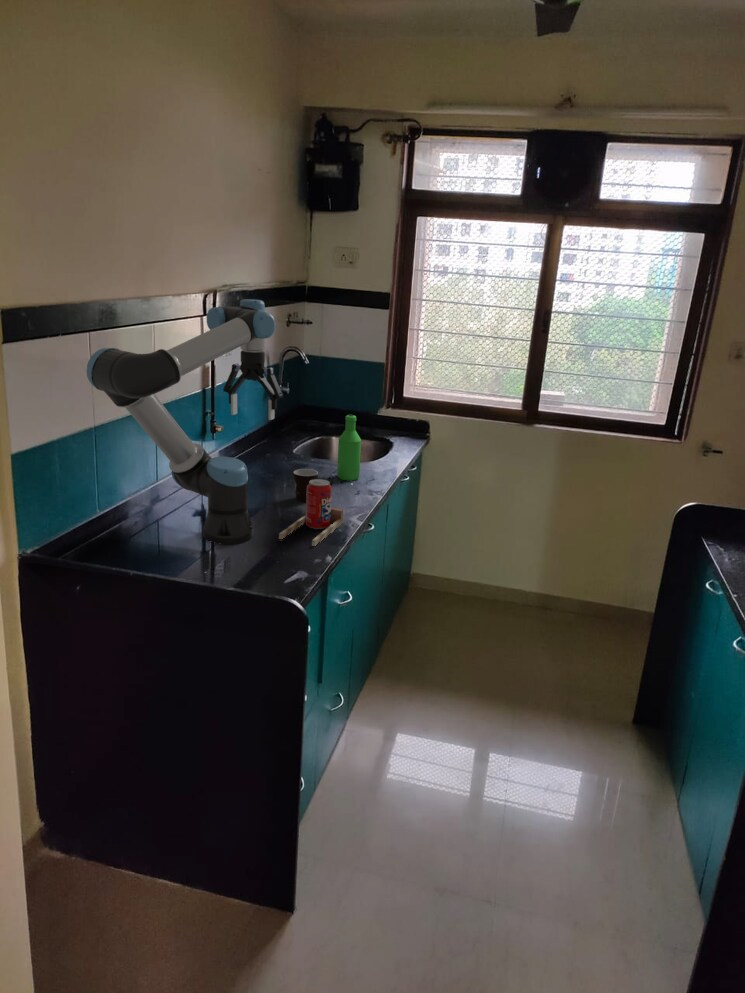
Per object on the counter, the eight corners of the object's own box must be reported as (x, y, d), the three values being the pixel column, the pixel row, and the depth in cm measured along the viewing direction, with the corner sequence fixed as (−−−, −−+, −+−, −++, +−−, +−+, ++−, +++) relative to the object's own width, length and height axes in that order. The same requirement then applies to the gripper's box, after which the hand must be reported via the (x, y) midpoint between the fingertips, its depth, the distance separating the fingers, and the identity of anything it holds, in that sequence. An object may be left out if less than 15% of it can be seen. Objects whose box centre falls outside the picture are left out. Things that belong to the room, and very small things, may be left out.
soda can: (303, 523, 229) (304, 478, 224) (326, 521, 231) (327, 477, 227) (309, 531, 222) (310, 486, 217) (333, 529, 225) (335, 484, 220)
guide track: (314, 546, 210) (315, 531, 209) (278, 539, 214) (279, 524, 212) (342, 523, 230) (343, 509, 229) (309, 517, 234) (309, 503, 232)
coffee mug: (313, 504, 246) (314, 477, 243) (289, 501, 248) (290, 474, 245) (322, 494, 257) (323, 468, 254) (299, 491, 259) (300, 465, 256)
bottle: (362, 480, 276) (365, 417, 268) (341, 482, 273) (344, 418, 265) (354, 474, 284) (357, 413, 276) (334, 475, 281) (336, 413, 273)
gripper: (293, 352, 222) (292, 419, 228) (224, 345, 229) (225, 410, 236) (282, 355, 215) (282, 423, 222) (211, 347, 223) (213, 414, 229)
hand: (252, 416), depth 229 cm, fingers open, 13 cm apart
